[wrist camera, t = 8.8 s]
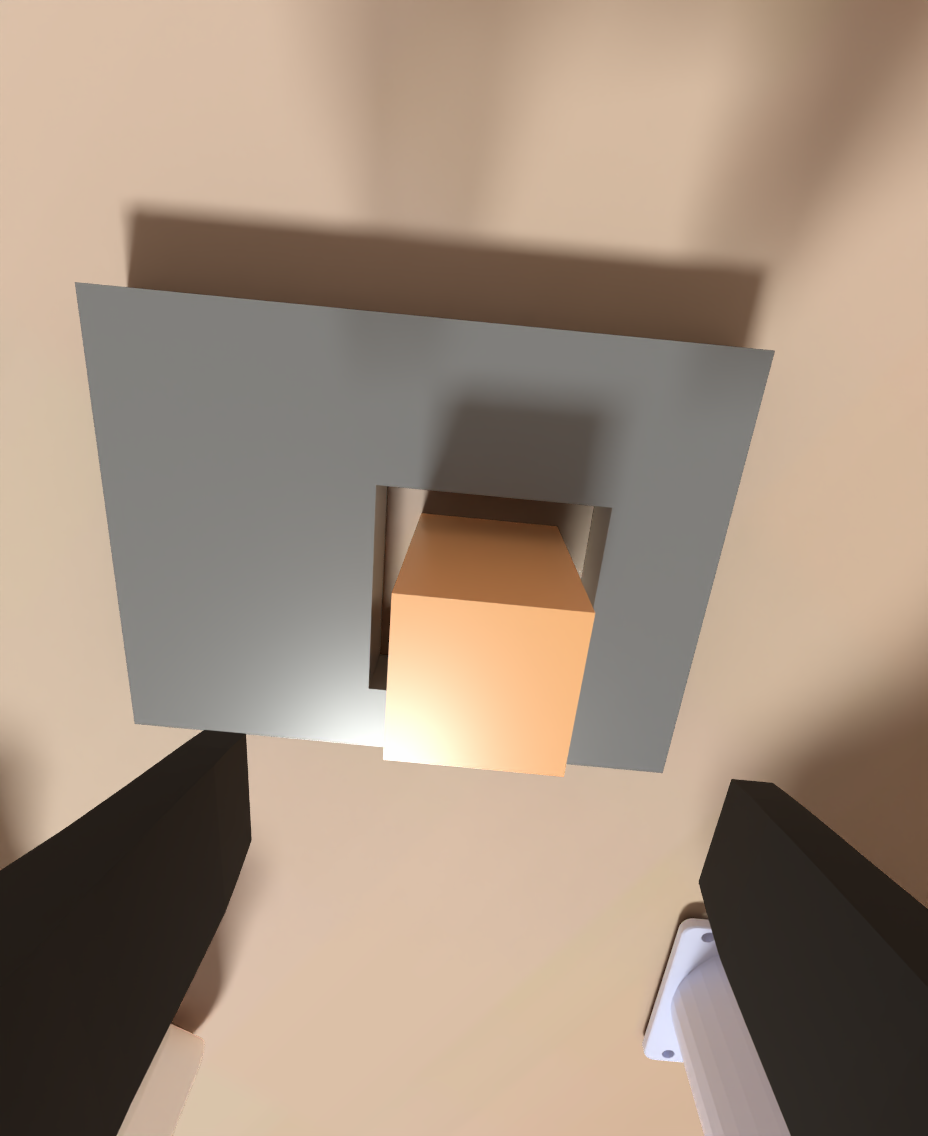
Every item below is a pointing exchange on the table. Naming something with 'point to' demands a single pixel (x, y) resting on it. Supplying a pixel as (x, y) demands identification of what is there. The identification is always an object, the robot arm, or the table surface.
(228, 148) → the table surface
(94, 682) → the table surface
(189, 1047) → the cable organizer
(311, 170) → the table surface
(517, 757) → the orange rectangular block
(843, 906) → the robot arm
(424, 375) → the socket plate
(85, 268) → the table surface
